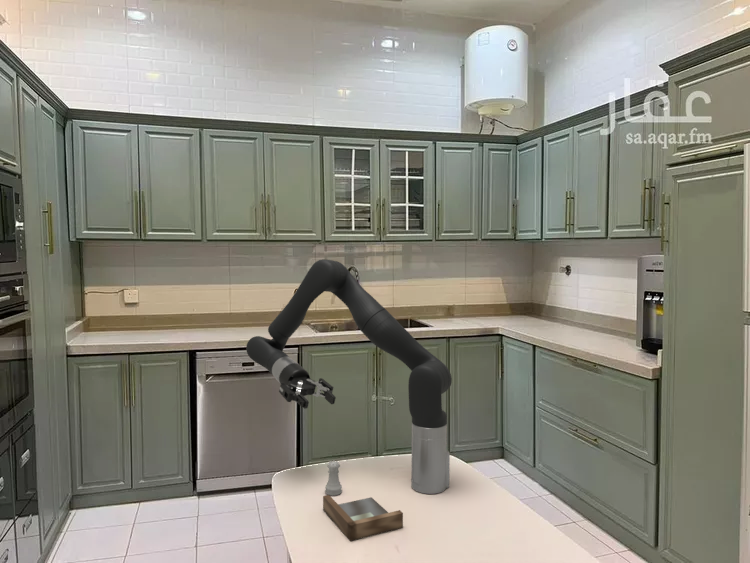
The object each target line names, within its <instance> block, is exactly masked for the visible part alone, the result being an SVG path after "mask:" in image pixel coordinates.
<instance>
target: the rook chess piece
mask: <svg viewBox="0 0 750 563" xmlns="http://www.w3.org/2000/svg"><path fill="white" fill-rule="evenodd" d="M340 467H341V465H340V463H339V461H338V460H334V459H333V460H330V461H328V464H327V468H328V471H327V472H328V480H327V482H326V485H325V489H324V492H325V493H326V495H330V496H331V497H332V496H333V497H335V496H339V495H340V494H341V493H342V492H343V489H342V488H343V487H342V484H341V482H340V478H339V472H340V471H339V468H340Z"/></svg>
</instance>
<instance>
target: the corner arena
mask: <svg viewBox="0 0 750 563" xmlns="http://www.w3.org/2000/svg"><path fill="white" fill-rule="evenodd" d="M322 510H323V512H324V513H325V514H326V516H327V517H329V518H330V520H331V521H332V522H333V524H334V525H335V526H336V527H337V529H339V530H340V532H342V534H343V535H344V536H345V537H346V538H347V539H348V541H349V542H353V541H354V542H355V541H358V540H361V539H365V538H370V537H373V536H378V535H380V534H386V533H390V532H392V531H396V530H397V531H398V530H401V529H403V528H404V512H402V510H400V509H399V510H395V511H390V512H388V510H387V509H385V508H384V507H383V506H382V505H381V504H379V502H378V501H376V500H375V499H374V498H373V497H371V496H370V497H366V498H362V499H357V500H352V501H348V502H344V503H337V501H336V500H334V498H332V496H330V495H327V494H326V495H323V496H322Z"/></svg>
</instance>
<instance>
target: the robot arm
mask: <svg viewBox="0 0 750 563" xmlns="http://www.w3.org/2000/svg"><path fill="white" fill-rule="evenodd" d="M325 292H330V293H332V294H333V295H334V296H336V298H338V299H339V300H340V301H341V302H342V303H343V304H344V305H345V306H346V307H347V309H348V310H349V312H350V314H351V316H352V318H353V321H354V323H355V325H356V327H357V328H358V329H359V331H361V333H362V334H363V335H364V336H365V337H366V338H367V339H368V341H370V342H371V343H372V344H373V345H374V346H376V347H377V348H379V349H381V351H384V352H385V353H387V354H389V355H391V356H393V357H395V358H396V359H398V360H399V361H401V362H402V363H403V364H404V365H406V366H407V368H409V370H410V374H409V377H408V410H409V414H410V416H411V473H410V474H411V479H410V480H411V488H412V489H413V490H414V491H416V492H418V493H421V494H428V495H429V494H430V495H431V494H439V493H442V492H444V491H445V490H446V489H448V488H450V468H451V467H450V465H451V464H450V462H451V461H450V460H451V456H450V455H451V453H450V452H449V450H447V448H448V447H447V446H448V445H447V441H448V440H447V438H448V436H447V435H448V434H447V429H448V428H447V426H448V415H447V412H446V411H445V410H443V404H442V402H443V401H442V399H443V398H442V397H443V395H442V394H445V393H446V392H447V391H448V390H449V389H450V388H451V386H452V383H453V382H452V381H453V379H452V373H451V372H450V370H449V368H448V367H447V365H446V364H445V363H444V362H442V361H441V360H440V359H438V357H436V356H435V355H434V354H433V353H432V352H430V351H428V350H427V349H426V348H425V347H424V346H423V345H422V344H421V343H419V342H418V341H417V339H416V338H414V337H413V335H412V334H411V333H410V332H409V331H408V330H407V329H406V328H405V327H403V325H402V324H401V323H399V321H398V320H397V319H396V318H395V317H394V316H393V315H392V314H391V313H390V312H389V311H388V310H387V308H385V307H384V306H383V305H382V304H380V302H379V301H377V300H376V299H375V298H374V297H373V296H372V295H371V294H370V293H369V292H368V291H366V290H365V289H364V287H362V285H361V284H360V283H359V282H358V281H357V279H356V278H355V277H354V276H353V274H352V273H351V272H350V271H349V269H348V268H347V267H346V266H345V265H344V264H343V263H341V262H340V261H337V260H332V259H323V258H322V259H319V260H317V261H315V262H314V263H313V264H312V265H311V267H310V268H309V269H308V271H307V273H306V274H305V276H304V278H303V280H302V281H301V283H300V284H299V286H298V287H297V289H296V291H295V292H294V294H293V296H292V297H291V298H290V299H289V302H287V304H286V305H285V306H284V308H283V309H281V311H280V313H278V315H277V316H276V317H275V319H274V320H273V321H271V323H270V324H269V325H268V328H267V331H268V334H269V336H270V337H271V338H272V339H270V338H266V337H264V336H260V335H257V336H255V335H254V336H252V337H251V338H250V339H249V340H248V341H247V342H246V347H245V348H246V349H245V350H246V354H247V355H248V357H249V358H250V359H251V360H252V361H253V362H255V363H256V364H258V365H260V366H261V367H263V368H265V369H266V370H267V371H268V372H269V373H270V374H271V375H272V377H274V378H275V381H277V382H278V383H279V385H280V386H279V390H278V392H279V393H280V395H281V397H283V398H284V400H285V401H286V402H288V403H291V402H292V401H293V402H294V403H297V404H298V406H300V407H302V408H303V409H305V410H306V409H308V408H309V403H310V402H309V400H308V399H307V398H306V396H314V397H316V398H319V397H322V398H324V399H325V400H326V402H328V403H329V404H330V405H335V402H336V399H337V398H336V396H335V394H333V392H334V389H335V388H334V386H332V385H331V384H330V383H329V382H328V381H327V380H325V379H324V378H322V377H321V378H318V380H317V381H316V380H314V379H311V376H310V374H309V372H308V371H307V370H306V369H305V368H304V367H303V366H301V365H300V363H298V362H297V360H294V359H293V358H291V356H289V355H288V354H287V353H286V352H284V348H285V346H287V342H288V341H289V339H290V338H291V336H292V335H293V334H294V333H295V332H296V331H297V330H298V328H299V327H300V326H301V325H302V323H303V322H304V320H305V317H306V314H307V312H308V311H309V308H310V306H311V305H312V304H313V302H314V301H315V300H316V299H317V298H318V297H319V296H320V295H322V294H323V293H325ZM316 387H317V388H316ZM316 389H317V390H316ZM315 391H316V392H315Z"/></svg>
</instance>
